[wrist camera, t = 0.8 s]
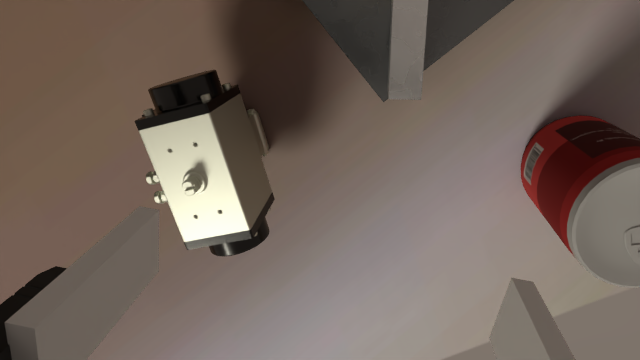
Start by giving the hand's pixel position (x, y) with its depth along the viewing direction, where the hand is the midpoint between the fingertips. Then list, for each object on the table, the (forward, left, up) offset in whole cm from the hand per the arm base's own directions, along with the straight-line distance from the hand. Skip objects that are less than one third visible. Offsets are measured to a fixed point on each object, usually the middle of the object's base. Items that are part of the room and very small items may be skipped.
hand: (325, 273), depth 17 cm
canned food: (+13, +11, -21) cm, 27 cm away
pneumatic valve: (-5, -8, -21) cm, 23 cm away
